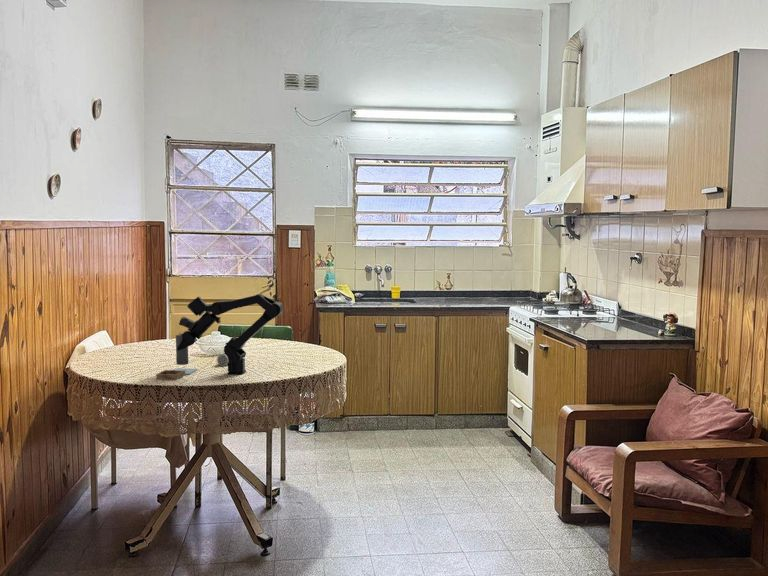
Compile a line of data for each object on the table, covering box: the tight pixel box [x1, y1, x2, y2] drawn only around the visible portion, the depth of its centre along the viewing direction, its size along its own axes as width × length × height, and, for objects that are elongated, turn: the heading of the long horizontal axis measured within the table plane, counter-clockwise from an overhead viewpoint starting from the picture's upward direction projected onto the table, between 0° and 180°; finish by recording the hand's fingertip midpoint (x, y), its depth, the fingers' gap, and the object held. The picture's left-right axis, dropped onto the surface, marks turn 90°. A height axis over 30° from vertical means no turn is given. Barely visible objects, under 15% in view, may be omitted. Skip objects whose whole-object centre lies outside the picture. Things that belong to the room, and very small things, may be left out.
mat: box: [173, 367, 198, 376], centre depth 310 cm, size 10×10×1 cm
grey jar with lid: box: [175, 332, 189, 366], centre depth 309 cm, size 5×5×14 cm
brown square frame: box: [155, 369, 186, 381], centre depth 300 cm, size 9×9×2 cm
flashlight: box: [216, 352, 229, 367], centre depth 333 cm, size 15×5×5 cm, turn 167°
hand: (178, 348), depth 309 cm, fingers closed on grey jar with lid, 5 cm apart
